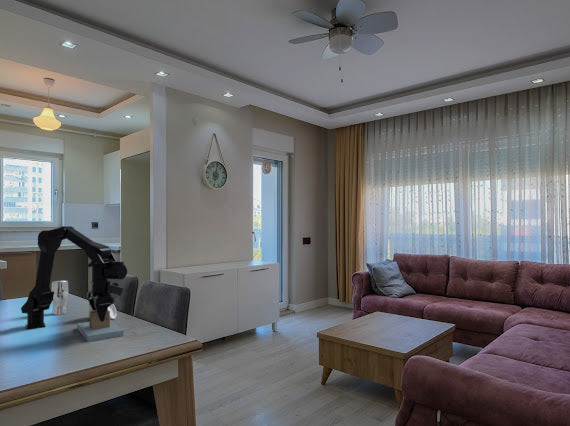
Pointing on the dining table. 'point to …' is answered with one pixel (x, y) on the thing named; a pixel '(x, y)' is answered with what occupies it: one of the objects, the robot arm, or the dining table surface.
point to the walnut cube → (98, 320)
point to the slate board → (99, 331)
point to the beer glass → (59, 297)
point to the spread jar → (111, 308)
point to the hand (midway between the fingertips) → (99, 319)
